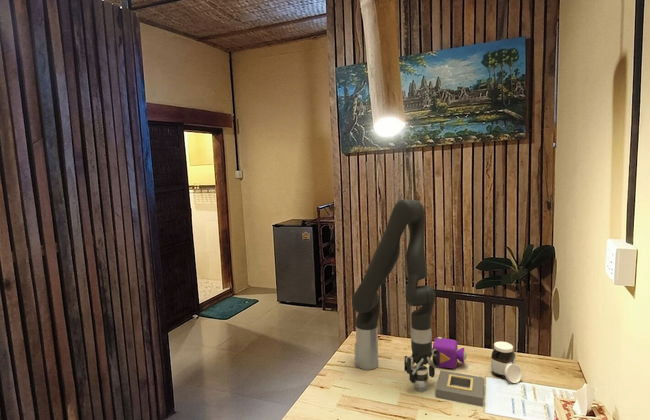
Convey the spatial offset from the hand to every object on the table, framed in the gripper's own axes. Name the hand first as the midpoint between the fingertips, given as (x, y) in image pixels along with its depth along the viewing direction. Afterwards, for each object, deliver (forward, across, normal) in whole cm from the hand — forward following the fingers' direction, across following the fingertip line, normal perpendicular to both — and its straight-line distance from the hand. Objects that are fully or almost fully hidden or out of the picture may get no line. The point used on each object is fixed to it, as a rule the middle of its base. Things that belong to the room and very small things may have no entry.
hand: (422, 379), depth 149 cm
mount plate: (+3, +11, -8) cm, 14 cm away
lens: (+3, -1, 0) cm, 3 cm away
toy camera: (+4, +21, +10) cm, 23 cm away
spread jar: (+4, +34, -8) cm, 35 cm away
